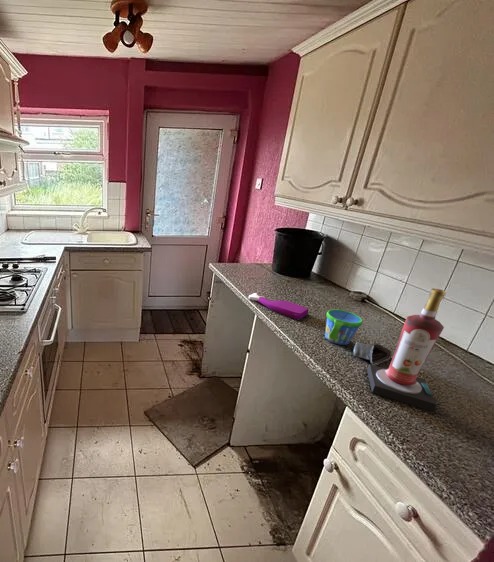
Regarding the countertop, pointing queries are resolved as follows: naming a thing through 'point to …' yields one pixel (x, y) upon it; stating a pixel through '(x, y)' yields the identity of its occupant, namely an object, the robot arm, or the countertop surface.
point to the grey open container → (372, 352)
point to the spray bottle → (282, 307)
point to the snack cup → (341, 326)
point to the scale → (401, 389)
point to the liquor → (416, 341)
